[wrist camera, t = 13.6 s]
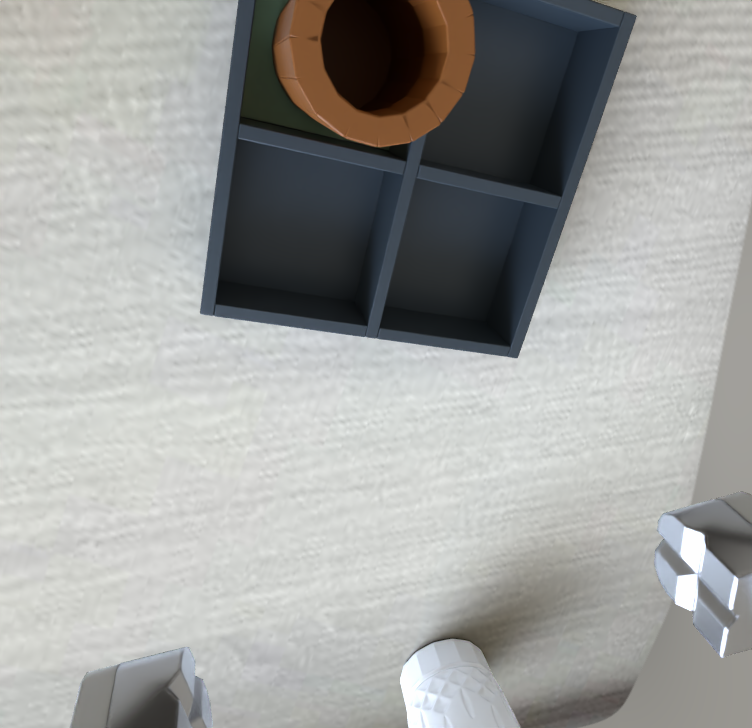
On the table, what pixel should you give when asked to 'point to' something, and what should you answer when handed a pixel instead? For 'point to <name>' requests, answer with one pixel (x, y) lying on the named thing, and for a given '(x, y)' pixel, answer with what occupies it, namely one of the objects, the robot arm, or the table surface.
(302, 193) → the compartment tray
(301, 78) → the jar
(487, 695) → the white cup
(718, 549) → the robot arm
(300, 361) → the table surface
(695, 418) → the table surface
